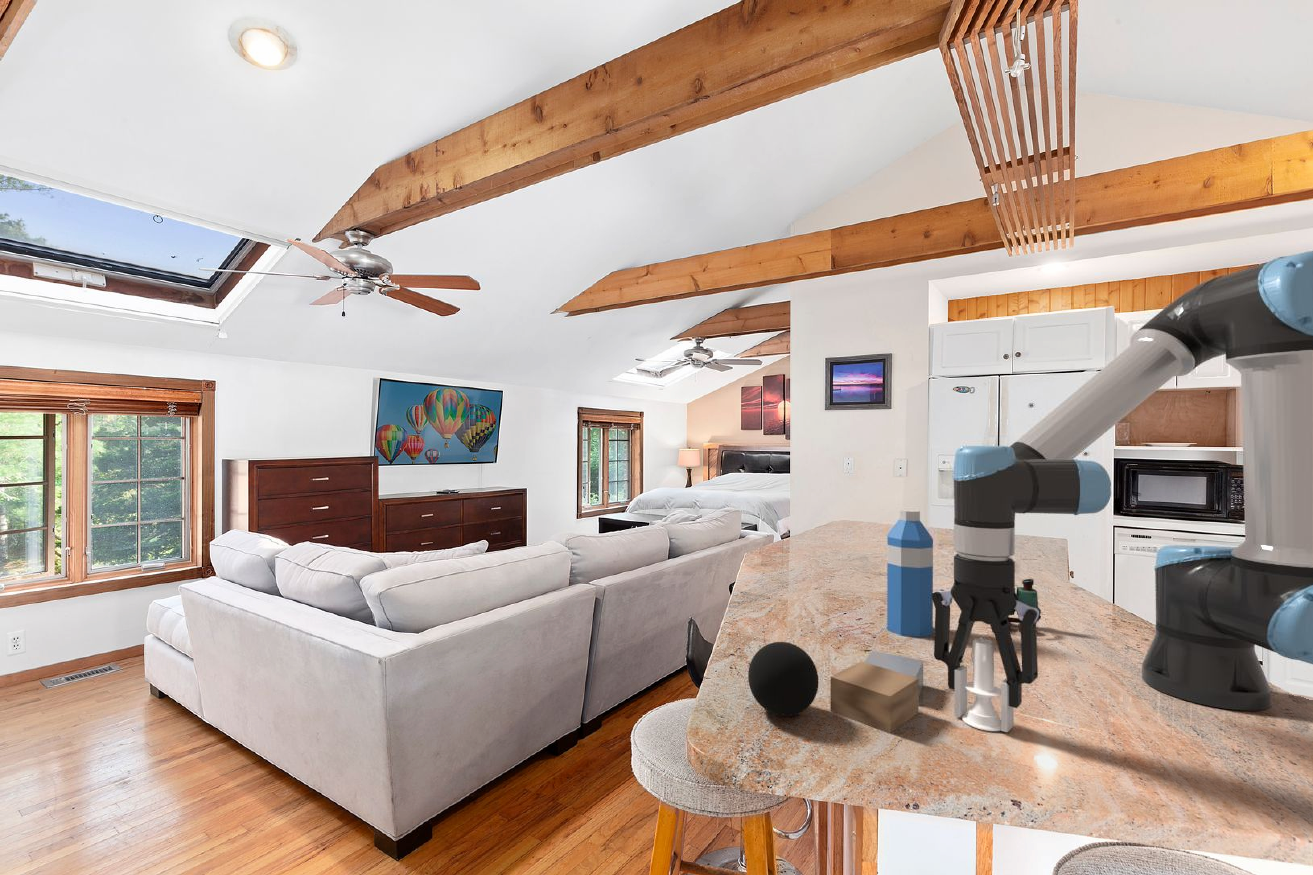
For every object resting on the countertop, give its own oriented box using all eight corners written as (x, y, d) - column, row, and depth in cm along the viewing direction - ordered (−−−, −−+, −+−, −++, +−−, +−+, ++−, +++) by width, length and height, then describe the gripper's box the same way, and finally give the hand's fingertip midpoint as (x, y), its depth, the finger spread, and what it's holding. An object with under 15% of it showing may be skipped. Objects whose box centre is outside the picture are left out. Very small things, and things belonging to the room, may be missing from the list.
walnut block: (918, 712, 87) (918, 678, 87) (890, 733, 81) (890, 696, 81) (860, 693, 93) (861, 661, 93) (830, 710, 87) (830, 676, 87)
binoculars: (989, 585, 123) (992, 572, 131) (990, 635, 124) (992, 618, 132) (1041, 591, 118) (1040, 577, 126) (1041, 643, 119) (1040, 625, 127)
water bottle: (940, 629, 125) (940, 510, 125) (924, 640, 118) (925, 514, 118) (895, 620, 131) (895, 506, 131) (878, 630, 124) (878, 510, 124)
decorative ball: (833, 717, 85) (833, 647, 85) (781, 736, 80) (782, 661, 80) (783, 692, 94) (783, 628, 94) (734, 707, 88) (734, 639, 88)
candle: (961, 726, 82) (962, 639, 83) (962, 710, 87) (962, 628, 87) (1006, 735, 80) (1006, 646, 80) (1004, 718, 85) (1004, 634, 85)
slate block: (923, 684, 96) (923, 660, 97) (915, 703, 90) (915, 676, 90) (872, 674, 101) (872, 650, 101) (860, 691, 94) (860, 665, 94)
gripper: (1067, 561, 80) (1067, 735, 79) (928, 543, 93) (928, 692, 93) (1052, 569, 74) (1052, 755, 74) (907, 549, 88) (907, 707, 88)
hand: (983, 720), depth 84 cm, fingers closed on candle, 5 cm apart
